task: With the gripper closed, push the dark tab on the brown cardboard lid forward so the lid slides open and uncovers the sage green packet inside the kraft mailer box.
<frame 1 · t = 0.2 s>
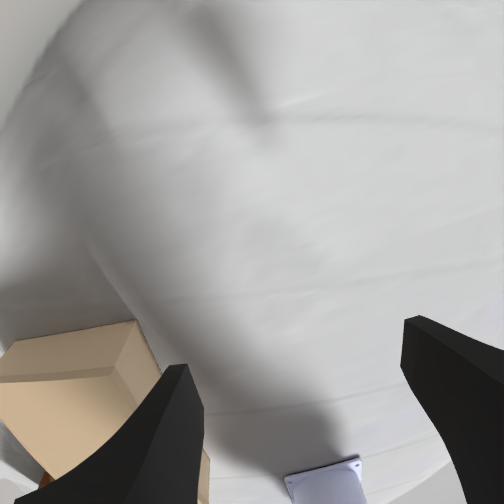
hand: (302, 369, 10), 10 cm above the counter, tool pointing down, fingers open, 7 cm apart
food container: (64, 486, 28), on the counter
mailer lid: (90, 474, 16), point 7 cm above the counter, slide at 0.0 cm
mailer box: (112, 410, 23), on the counter
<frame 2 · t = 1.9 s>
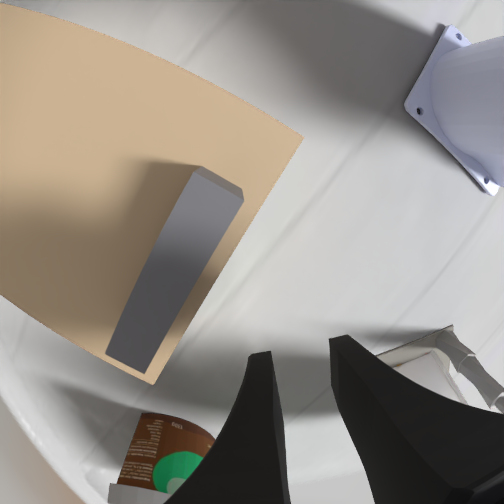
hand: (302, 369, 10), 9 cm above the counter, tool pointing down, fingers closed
food container: (196, 443, 24), on the counter
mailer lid: (27, 184, 10), point 7 cm above the counter, slide at 0.0 cm
skyscraper: (406, 378, 23), on the counter
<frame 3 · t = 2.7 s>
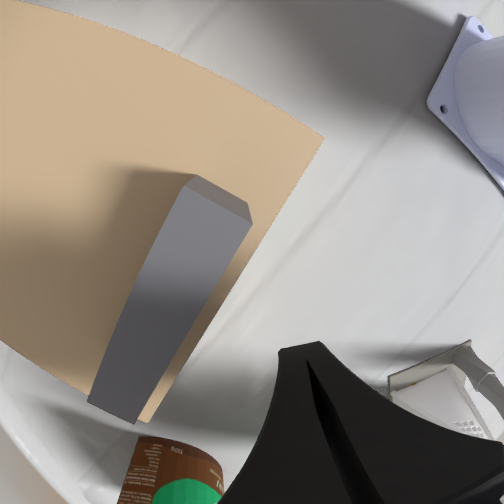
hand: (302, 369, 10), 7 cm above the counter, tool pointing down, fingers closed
food container: (197, 466, 22), on the counter
skyscraper: (420, 395, 21), on the counter
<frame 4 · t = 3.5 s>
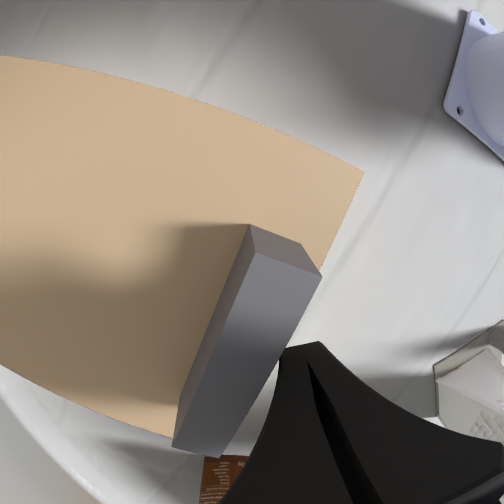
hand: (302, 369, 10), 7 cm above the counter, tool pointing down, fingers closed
food container: (262, 475, 22), on the counter
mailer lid: (37, 272, 8), point 7 cm above the counter, slide at 0.4 cm, touching gripper
skyscraper: (462, 377, 21), on the counter
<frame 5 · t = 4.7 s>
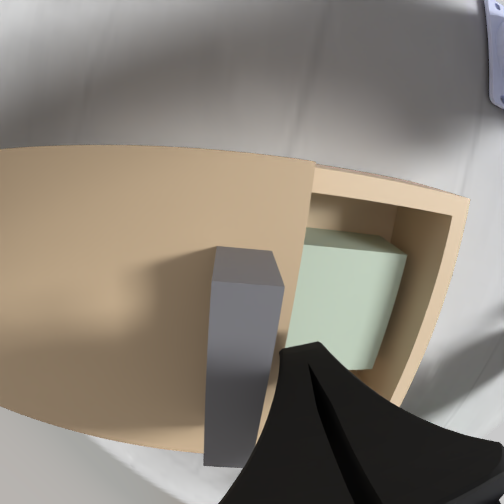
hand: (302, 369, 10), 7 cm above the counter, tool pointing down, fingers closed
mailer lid: (46, 337, 9), point 7 cm above the counter, slide at 7.1 cm, touching gripper
mailer box: (244, 278, 16), on the counter
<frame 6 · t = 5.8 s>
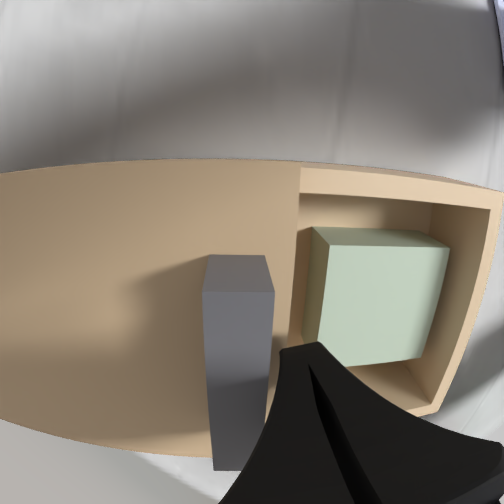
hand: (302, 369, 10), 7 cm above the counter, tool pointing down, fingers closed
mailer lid: (51, 354, 9), point 7 cm above the counter, slide at 9.6 cm, touching gripper
mailer box: (295, 281, 17), on the counter
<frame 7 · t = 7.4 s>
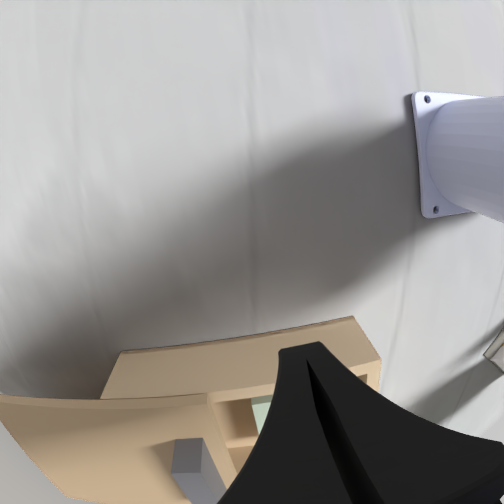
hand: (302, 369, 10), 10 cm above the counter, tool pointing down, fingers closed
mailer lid: (111, 478, 16), point 7 cm above the counter, slide at 9.6 cm
mailer box: (248, 401, 23), on the counter
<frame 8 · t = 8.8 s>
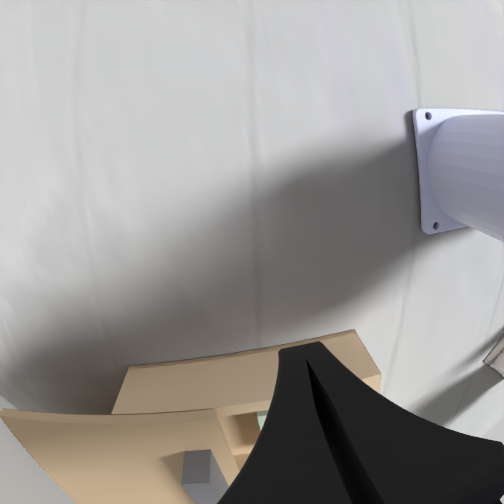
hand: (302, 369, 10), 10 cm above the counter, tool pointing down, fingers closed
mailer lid: (122, 487, 17), point 7 cm above the counter, slide at 9.6 cm
mailer box: (253, 411, 23), on the counter
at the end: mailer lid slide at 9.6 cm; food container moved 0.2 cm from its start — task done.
